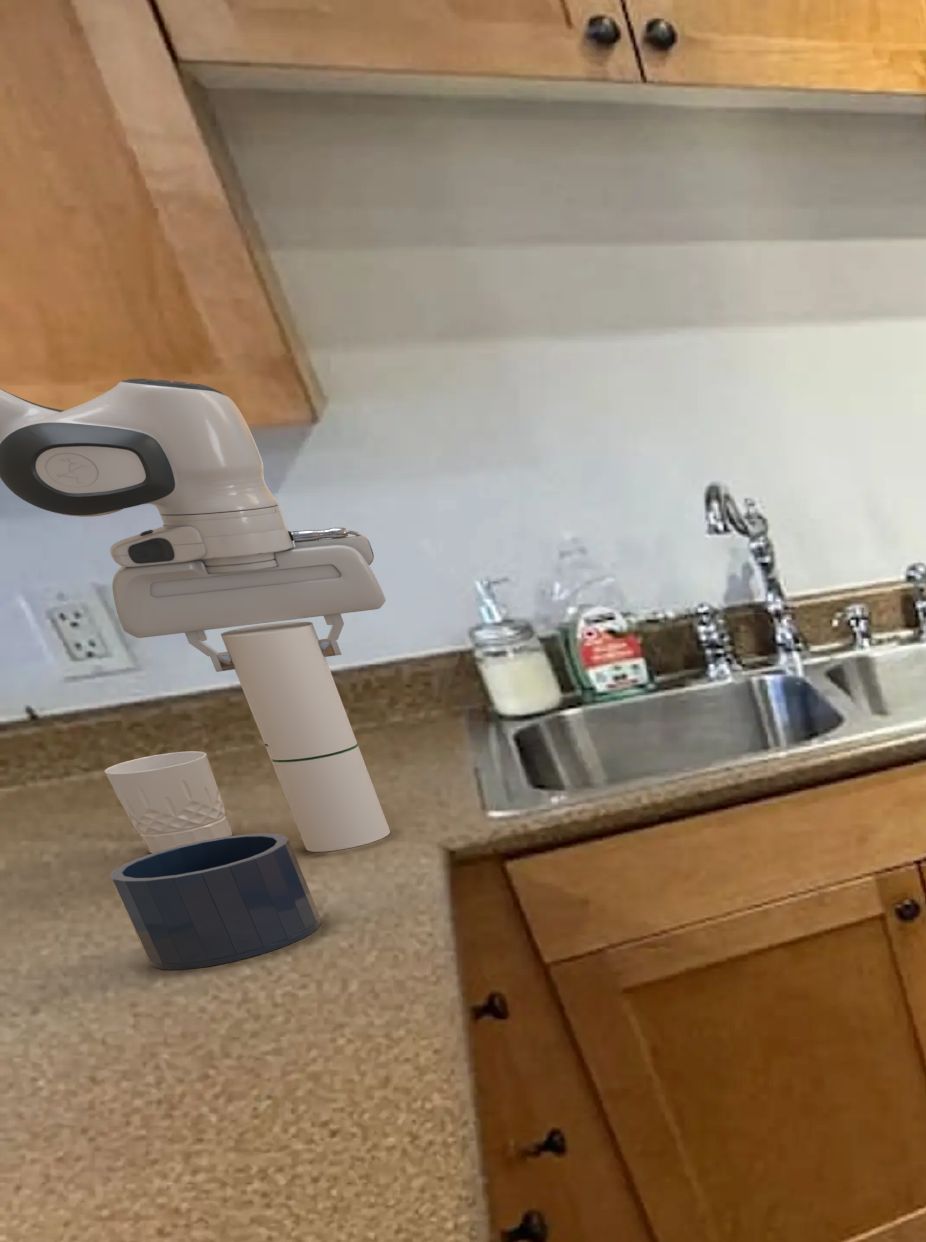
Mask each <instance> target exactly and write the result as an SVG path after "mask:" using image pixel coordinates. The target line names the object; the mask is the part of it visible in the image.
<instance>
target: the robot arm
mask: <svg viewBox="0 0 926 1242" xmlns="http://www.w3.org/2000/svg"><path fill="white" fill-rule="evenodd" d="M264 467H265V466H264V461H263V458H262V456H261V453H260V451H259V448H258V446H257V443H256V441H255V438H254V435H253V434H252V431H251V430H250V427H249V425H248V423H247V421H246V419H245V417H244V416H243V414H242V412H241V410H240V409H239V407H238V405H236V403H235V401H233V399H231V397H229V396H228V395H226V394H224V393H223V392H221V391H220V390H218V389H216V388H213V387H212V386H208V385H204V384H200V383H193V382H186V381H177V380H176V381H175V380H165V379H155V378H154V379H153V378H152V379H150V378H149V379H148V378H127V379H124V380H120V381H119V382H118V383H117V384H116V385H115V386H113V387H112V388H111V389H109V390H107V391H106V392H104V393H102V394H100V395H99V396H96V397H94V398H92V399H90V400H88V401H86V402H83V403H81V404H79V405H76V406H73V407H71V408H68V409H66V410H65V409H59V408H54V407H49V406H46V405H45V406H44V405H41V404H39V403H35V402H32V401H29V400H27V399H24V398H22V397H20V396H17V395H15V394H12V393H10V392H8V391H6V390H4V389H2V388H0V480H1V481H2V482H3V484H4V485H5V486H6V487H7V488H8V489H9V490H10V491H11V492H12V493H13V494H14V495H15V496H17V497H18V498H20V499H21V500H23V501H24V502H26V503H28V504H30V505H32V506H34V507H36V508H38V509H42V510H44V511H47V512H50V513H54V514H58V515H62V516H70V517H79V518H91V517H102V516H107V515H111V514H114V513H118V512H120V511H122V510H124V509H129V508H134V507H137V506H141V505H149V504H150V505H153V506H154V507H155V508H157V510H158V513H159V516H160V518H161V520H162V523H163V524H162V526H160V527H157V528H154V529H148V530H144V531H142V532H140V533H139V534H135V535H132V536H130V537H126V538H123V539H120V540H118V541H116V542H115V543H113V544H112V545H111V546H110V547H109V555H110V556H111V558H112V560H113V561H114V562H115V563H116V564H117V565H118V566H120V567H119V568H118V569H117V571H116V572H115V574H114V576H113V579H112V585H111V587H112V597H113V601H114V606H115V611H116V614H117V617H118V621H119V624H120V625H121V628H122V630H123V632H124V633H126V634H128V635H130V636H132V637H134V638H137V639H145V638H153V637H160V636H161V637H162V636H168V635H169V636H170V635H176V634H185V637H186V639H187V642H188V644H190V645H191V646H192V647H194V648H196V650H199V651H200V652H201V653H202V654H204V655H205V656H207V657H210V660H211V663H212V665H213V667H214V670H215V672H216V673H220V672H226V671H232V670H235V667H234V664H233V663H232V661H231V660H232V659H231V657H230V654H228V651H221V652H218V650H216V649H215V648H213V647H212V646H210V645H209V644H208V643H206V642H205V641H207V640H208V635H207V632H206V631H210V630H218V629H225V628H226V629H227V628H235V627H243V626H253V625H261V624H269V623H277V622H283V621H285V622H286V621H292V620H293V621H294V620H300V619H301V620H302V619H309V618H316V617H323V619H324V621H325V624H326V625H327V626H331V627H330V630H329V632H328V635H327V638H321V639H319V645H320V648H321V649H322V653H323V656H324V657H325V658H329V657H335V656H342V652H341V649H340V647H339V644H338V641H337V640H339V637H340V635H341V633H342V630H343V628H344V625H345V622H344V620H343V618H342V615H343V614H349V613H358V612H366V611H373V610H380V609H381V608H382V607H383V606H384V604H385V602H386V599H387V598H386V596H385V594H384V592H383V589H382V587H381V585H380V583H379V581H378V578H377V577H376V575H375V572H374V571H373V570H372V568H371V564H372V563H373V561H374V558H375V555H374V551H373V548H372V546H371V543H370V540H369V539H368V538H367V537H366V536H365V535H363V534H362V533H360V532H358V531H354V530H347V528H346V527H329V528H326V529H325V528H324V529H304V530H292V531H290V530H289V529H288V525H287V524H286V521H285V518H284V515H283V512H282V510H281V507H280V505H279V502H278V500H277V498H276V496H274V494H273V493H272V492H271V490H270V489H269V488H268V486H267V484H266V480H265V476H264V475H265V474H264V471H265V469H264ZM349 535H353V536H349Z"/></svg>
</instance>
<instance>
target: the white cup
mask: <svg viewBox="0 0 926 1242" xmlns="http://www.w3.org/2000/svg"><path fill="white" fill-rule="evenodd" d="M103 772H104V774H105V776H106V777H107V779H108V781H109V783H110V785H111V788H113V791H114V793H115V795H116V797H117V799H118V800H119V803H120V805H121V807H122V808H123V810H124V812H125V813H126V816H127V818H128V819H129V821H130V823H132V826H133V828H134V830H135V831H136V832H137V833H138V835H139V837H140V838H141V841H142V842H143V845H144V847H145V849H146V850H147V851H148V852H149V853H150V854H152V853H155V852H159V851H162V850H166V849H169V848H173V847H177V846H181V845H186V844H190V843H195V842H199V841H204V840H209V839H215V838H221V837H227V836H233V831H232V828H231V826H230V822H229V820H228V817H227V816H226V807H225V805H224V802H223V800H222V795H221V792H220V789H219V785H218V783H217V780H216V778H215V774H214V772H213V768H212V766H211V763H210V760H209V757H208V754H207V753H206V752H204V751H196V750H193V751H176V752H175V751H174V752H167V753H161V754H155V755H148V756H144V757H138V758H134V759H131V760H126V761H123V762H119V763H116V764H114V765H111V766H108V767H107V768H105V770H104V771H103Z"/></svg>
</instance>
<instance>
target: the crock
mask: <svg viewBox="0 0 926 1242" xmlns="http://www.w3.org/2000/svg"><path fill="white" fill-rule="evenodd" d="M109 879H110V881H111V883H112V885H113V887H114V889H115V891H116V893H117V895H118V898H119V900H120V902H121V904H122V907H123V909H124V910H125V914H126V915H127V917H128V920H129V921H130V924H131V926H132V928H133V931H134V933H135V935H136V937H137V940H138V942H139V944H140V946H141V949H142V950H143V952H144V954H145V957H146V958H147V960H148V962H149V964H150V966H151V967H153V968H155V969H159V970H166V971H177V970H180V971H181V970H191V969H200V968H201V969H202V968H207V967H213V966H214V967H215V966H220V965H224V964H229V963H233V962H239V961H241V960H246V959H249V958H252V957H256V956H259V955H263V954H266V953H270V952H273V951H276V950H278V949H280V948H284V947H286V946H288V945H291V944H293V943H296V942H298V941H300V940H302V939H304V938H307V937H308V936H310V935H311V934H313V933H314V932H316V931H317V930H318V929H319V928H320V926H321V925H322V920H321V919H320V913H319V911H318V909H317V906H316V904H315V900H314V898H313V896H312V894H311V890H310V888H309V886H308V884H307V881H306V879H305V876H304V874H303V871H302V869H301V866H300V864H299V861H298V858H297V857H296V854H295V852H294V849H293V847H292V844H291V842H290V839H289V838H288V837H287V836H285V835H283V834H278V833H246V834H236V835H232V836H227V837H221V838H215V839H209V840H204V841H199V842H195V843H190V844H186V845H181V846H177V847H173V848H169V849H166V850H162V851H159V852H155V853H149V854H146V855H143V856H140V857H138V858H135V859H132V860H129V861H128V862H125V863H123V864H121V865H120V866H118V867H116V868H115V869H113V871H112V872H110V874H109Z"/></svg>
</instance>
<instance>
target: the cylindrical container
mask: <svg viewBox="0 0 926 1242" xmlns="http://www.w3.org/2000/svg"><path fill="white" fill-rule="evenodd" d="M220 636H221V638H222V642H223V643H224V644H223V645H224V646H225V649H226V652H228V654H230V657H231V659H232V660H231V661H232V663H233V664H234V667H235V669H234V671H235V674H236V676H237V679H238V681H239V684H240V686H241V689H242V692H243V694H244V696H245V699H246V702H247V704H248V707H249V710H250V711H251V715H252V717H253V719H254V722H255V724H256V727H257V729H258V732H259V734H260V736H261V737H260V738H261V739H262V742H263V744H264V747H265V750H266V752H267V755H268V757H269V759H270V762H271V764H272V767H273V769H274V771H275V775H276V776H277V780H278V782H279V785H280V787H281V789H282V792H283V794H284V797H285V800H286V802H287V804H288V807H289V809H290V812H291V815H292V817H293V819H294V822H295V825H296V827H297V830H298V832H299V835H300V837H301V840H302V843H303V844H304V845H303V846H304V847H305V850H306V851H308V852H313V853H324V852H334V851H342V850H347V849H352V848H356V847H361V846H364V845H367V844H372V843H374V842H376V841H379V840H381V839H383V838H385V837H388V836H389V835H390V833H391V830H390V827H389V825H388V821H387V819H386V816H385V813H384V811H383V808H382V806H381V803H380V800H379V798H378V795H377V792H376V790H375V787H374V784H373V782H372V778H371V776H370V774H369V770H368V767H367V766H366V763H365V760H364V758H363V755H362V752H361V750H360V747H359V744H358V741H357V739H356V735H355V734H354V731H353V728H352V725H351V722H350V720H349V717H348V714H347V712H346V709H345V706H344V704H343V701H342V699H341V696H340V693H339V690H338V687H337V685H336V683H335V679H334V677H333V674H332V671H331V669H330V666H329V663H328V661H327V657H324V656H323V653H322V649H321V648H320V645H319V640H320V639H319V637H318V634H317V631H316V629H315V626H314V623H313V622H311V621H285V622H283V621H282V622H272V623H263V624H256V625H249V626H244V627H239V628H234V629H231V630H227V631H224V632H222V633H221V634H220Z"/></svg>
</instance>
